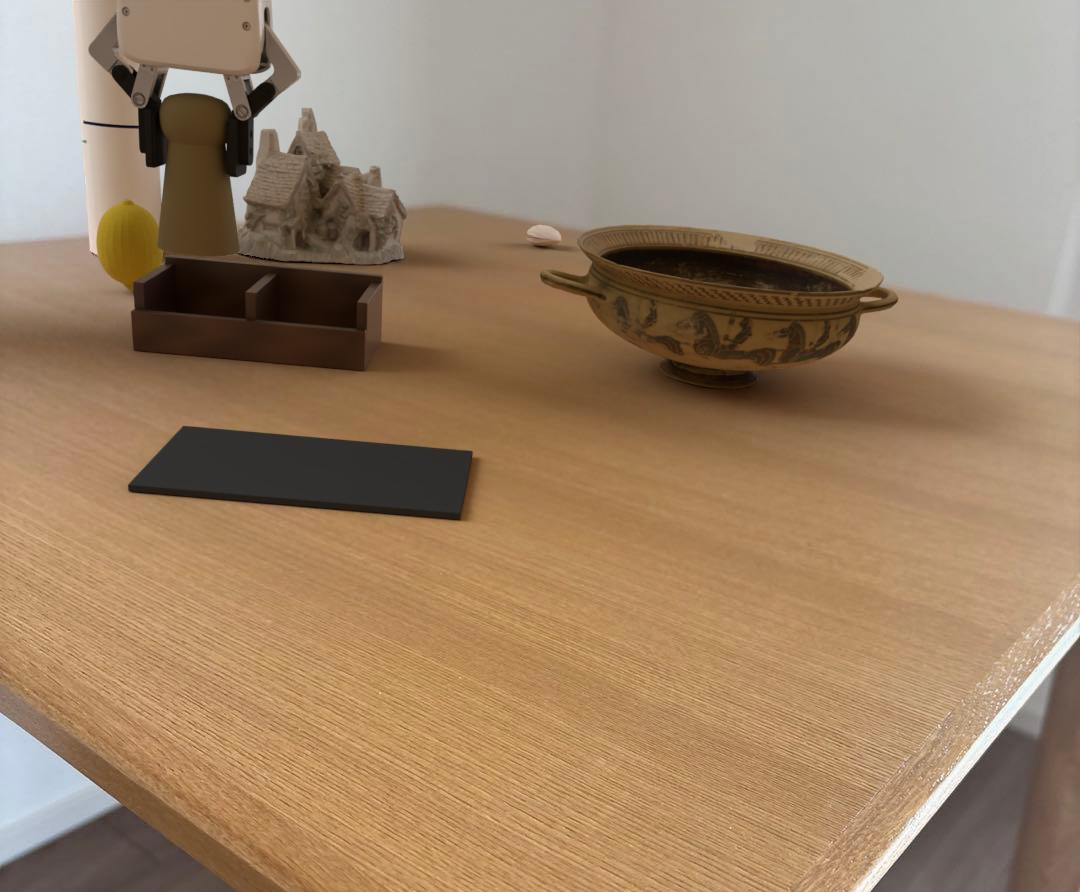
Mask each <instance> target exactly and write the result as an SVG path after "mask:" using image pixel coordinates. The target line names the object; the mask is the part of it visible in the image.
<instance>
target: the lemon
mask: <svg viewBox="0 0 1080 892" xmlns="http://www.w3.org/2000/svg"><path fill="white" fill-rule="evenodd" d="M158 233H159V227H158V225H157V223H156V221H155V219H154V217H153V216H152V215H151V214H150V213H149V212H148V211H147V210H145V209H144V208H142V207H140V206H138V205H136V204H134V203H133V202H132V200H128V199H126V200H123V201H122V202H121V203H120V204H117V205H115V206H113V207H111V208H110V209H108V210H107V211H106V212H105V213H104V215H103V216H102V218H101V220H100V222H99V226H98V230H97V239H96V245H97V253H98V256H97V257H98V260H99V262H100V265H101V267H102V268H103V270H104V271H105V272H106V274H107V275H109V276H110V278H112V279H113V280H114V281H116V282H119V283H121V284H122V285H123V286H125V288H126V289H127V290H128V291H131V292H134V290H133V282H134V281H136V280H137V279H139V278H141V277H142V276H144V275H146V274H147V273H149V272H151V271H153V270H154V269H156V268H158V267H159V266H161V265H162V262H163V259H164V257H163V256H164V255H163V250H161V249H159V248H158V247H157V243H158Z"/></svg>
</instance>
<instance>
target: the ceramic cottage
mask: <svg viewBox="0 0 1080 892" xmlns="http://www.w3.org/2000/svg"><path fill="white" fill-rule="evenodd" d="M300 109H301V110H300V111H301V114H300V115H301V117H298V122H297V130H295V135H294V137H293V139H292V141H291V143H290V145H289V147H288V150H287V152H282V151H281V149H280V148H281V147H280V141H279V133H278V132H277V130H276V128H262V129H261V130H260V133H259V141H258V149H257V153H256V157H255V171H254V175H253V177H252V179H251V180H250V181H251V182H250V185H249V187H248V188H247V190H246V194H245V195H244V196H242V200H243V201H244V202H245V203H246V209H245V210H246V211H245V213H244V222H243V224H242V225H241V226H239V228H238V227H237V232H238V240H239V247H240V251H239V252H240V253H243V254H247V255H250V256H251V257H252V256H256V257H260V258H263V259H264V258H266V259H265V260H268V259H271V260H274V261H281V262H282V261H283V262H290V261H291V262H304V263H310V262H312V263H332V264H333V263H336V264H338V263H340V264H345V265H383V264H385V263H390V262H391V261H394V260H396V261H398V260H404V259H405V257H404V247H403V245H402V242H401V237H402V231H403V227H404V220H406V219H407V216H408V212H407V208H406V207H405V205H404V203H403V202H402V200H401V199H400V196H399V195H398V194H397V190H395V189H392V188H385V187H383V183H382V182H383V181H382V171H381V167H380V165H371V166H369V171H367V172H365V173H362V172H361V170H360V168H359V167H356V166H355V167H354V166H349V165H347V166H346V165H341V159H340V158H339V156H338V155H337V151H335V149H334V147H333V146H332V144H331V141H330V140H329V136H328V134H327V133H326V131H325V130H320V131H318V126H317V125H318V124H317V120H316V118H315V113H314V110H313V108H312V107H301V108H300ZM250 256H249V257H250Z"/></svg>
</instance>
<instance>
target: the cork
mask: <svg viewBox="0 0 1080 892" xmlns="http://www.w3.org/2000/svg"><path fill="white" fill-rule="evenodd" d="M229 119H232V109H231V108H230V105H229V104H228V103H227V102H226V101H225V100H223V99H221V98H218V97H215V96H213V95H209V94H205V93H197V92H179V93H174V94H169V95H167V96H166V97H164V98H163V100H162V103H161V105H160V109H159V123H160V126H161V130H162V132H163V133H164V135H165V136H166V138H167V139H168V144H167V154H166V164H165V165H164V173H163V174H164V176H163V185H162V192H161V213H160V223H159V233H158V243H157V247H158V248H159V249H161V250H163V251H164V252H168V253H172V254H175V255H181V256H190V257H227V256H233V255H236V254H239V251H240V247H239V240H238V226H237V218H236V211H235V203H234V197H233V195H234V194H233V188H232V182H231V177H230V176H229V175H227V134H226V124H227V121H228V120H229Z"/></svg>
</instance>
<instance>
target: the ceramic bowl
mask: <svg viewBox="0 0 1080 892" xmlns="http://www.w3.org/2000/svg"><path fill="white" fill-rule="evenodd" d="M576 240H577V241H576V243H577V245H578V247H579V248H580V251H582V253H583V254H584V255H585V256H586V257H587V258H588V259H589V260H590V261H591V264H590V266H589V268H588V272H587V274H584V275H576V274H571V273H567V272H565V271H560V270H555V269H545V268H543V269H542V270H541V271H540V273H539V275H540V276H539V277H540V281H541V282H542V283H543V284H544V285H547V286H549V287H551V288H553V289H556V290H560V291H563V292H567V293H570V294H572V295H576V296H580V297H584V298H586V301H587V304H588V306H589V308H590V309H591V311H592V313H593V315H595V317H596V318H597V319H598V320H599V321H600V322H601V323H602V324H603V325H604V326H605V327H606V328H607V329H608V330H609V331H611V332H612V333H613V334H615V335H616V336H618V337H619V338H621V339H623V340H625V342H628V343H630V344H632V345H633V346H634V347H635V346H636V347H637V348H639V349H641V350H643V351H646V352H648V353H650V354H653V355H656V356H658V357H661V358H664V359H663V360H661V361H660V362H659V366H658V367H659V369H660V371H661V372H662V373H663V374H664V375H666V376H667V377H669V378H671V379H674V380H677V381H680V382H683V383H687V384H690V385H694V386H699V387H704V388H713V389H728V390H729V389H730V390H731V389H732V390H733V389H741V388H748V387H750V386H753V385H755V384H756V383H757V382H758V374H757V373H756V372H758V371H772V370H780V369H781V370H782V369H788V368H793V367H798V366H802V365H806V364H810V363H814V362H817V361H820V360H822V359H824V358H827V357H828V356H831V355H832V354H834V353H836V352H838V351H839V350H841V349H842V348H844V347H845V346H846V345H847V344H848V343H849V342H851V340H852V339H853V338H854V336H855V335H856V333H857V331H858V328H859V326H860V322H861V317H862V315H864V314H869V313H877V312H882V311H886V310H889V309H892V308H893V307H894V306H895V305H896V304H897V303H899V296H898V295H897V293H896V292H895V291H894V290H893V289H890V288H887V287H883V286H882V287H881V285H882V283H883V281H884V279H885V278H884V275H883V273H882V272H880V270H878V269H877V268H875V267H872V266H870V265H868V264H865V263H863V262H861V261H858V260H855V259H853V258H850V257H848V256H845V255H842V254H840V253H839V254H838V253H836V252H833V251H828V250H825V249H821V248H818V247H815V246H811V245H806V244H801V243H798V242H797V243H796V242H792V241H789V240H788V241H787V240H782V239H777V238H773V237H767V236H761V235H756V234H747V233H742V232H736V231H735V232H734V231H727V230H720V229H710V228H709V229H708V228H699V227H692V226H681V225H663V224H661V225H659V224H620V225H608V226H603V227H597V228H593V229H590V230H587V231H584V232H582V233H581V234H580V235H579V236H578V237H577V239H576ZM862 298H875V300H869V301H861V299H862Z"/></svg>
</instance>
